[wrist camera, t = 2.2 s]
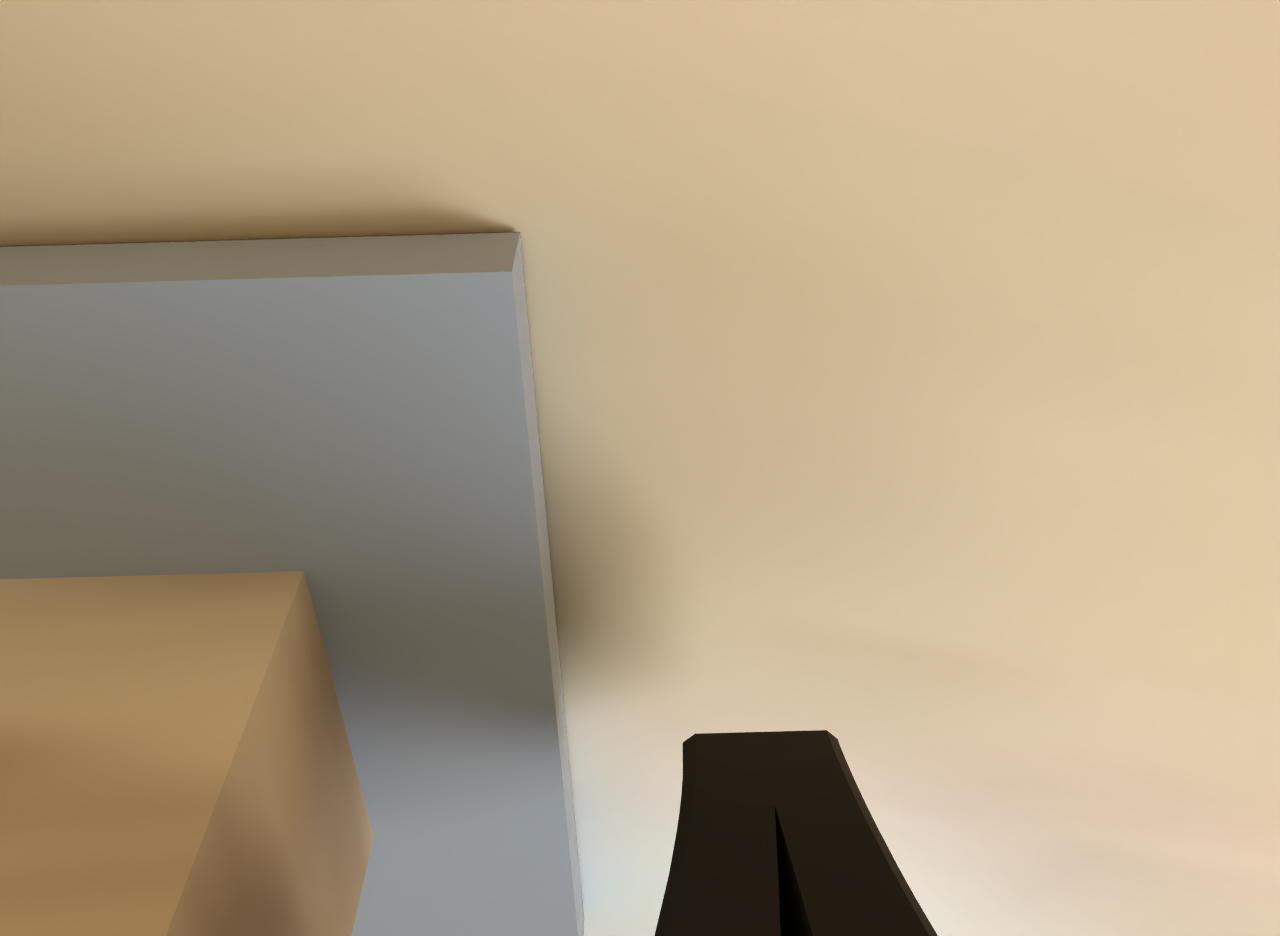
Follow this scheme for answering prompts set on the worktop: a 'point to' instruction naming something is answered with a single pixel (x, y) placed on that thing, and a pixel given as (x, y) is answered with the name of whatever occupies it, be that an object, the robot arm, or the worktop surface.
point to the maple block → (173, 760)
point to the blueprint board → (327, 514)
